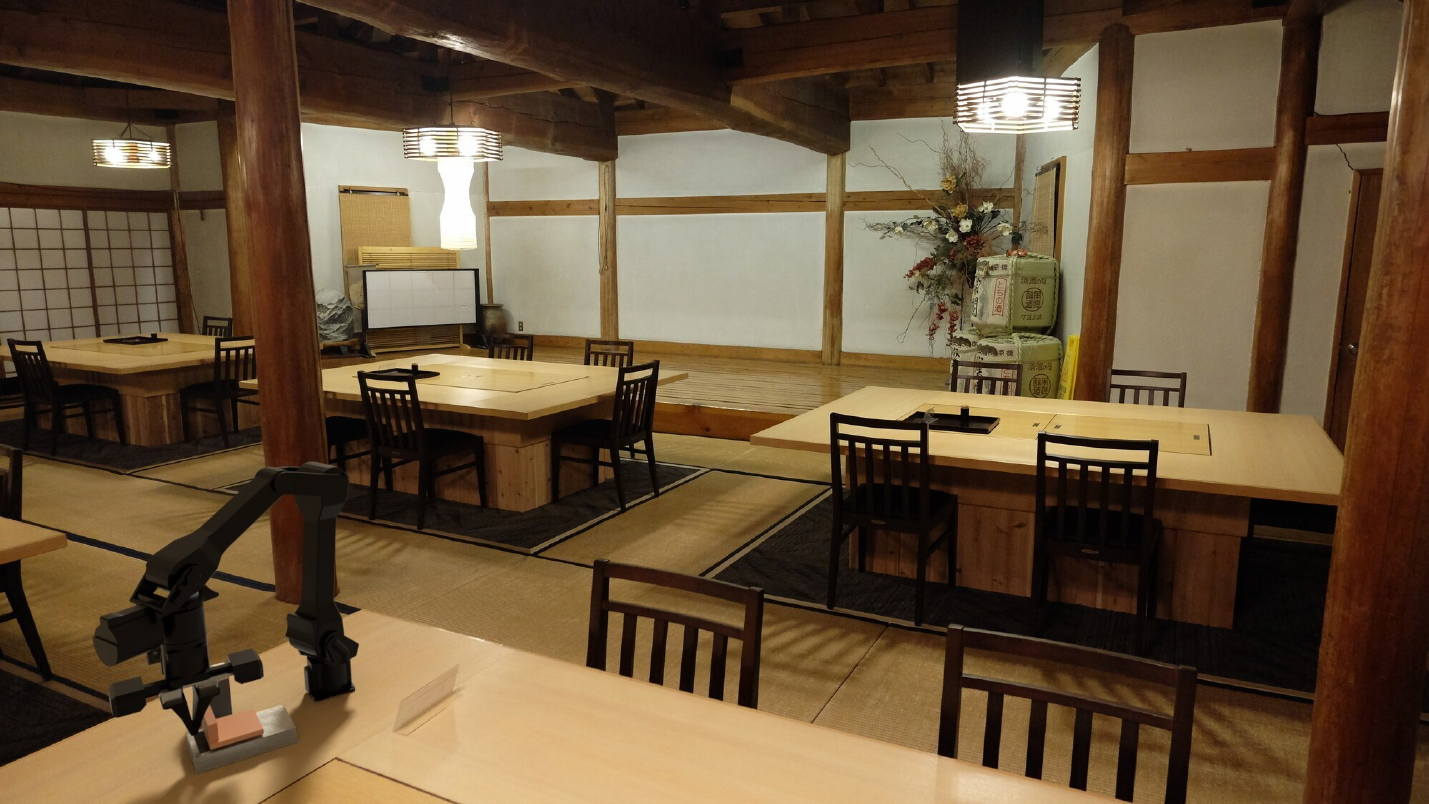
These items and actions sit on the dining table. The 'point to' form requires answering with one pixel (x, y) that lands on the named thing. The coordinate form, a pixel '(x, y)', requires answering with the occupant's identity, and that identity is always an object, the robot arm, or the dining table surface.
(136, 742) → the dining table surface
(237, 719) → the salmon l-shaped block
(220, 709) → the plug
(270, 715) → the grey rectangular box
